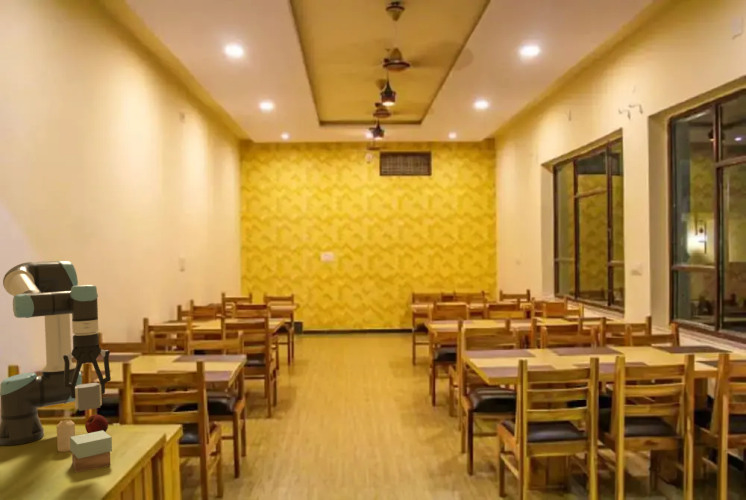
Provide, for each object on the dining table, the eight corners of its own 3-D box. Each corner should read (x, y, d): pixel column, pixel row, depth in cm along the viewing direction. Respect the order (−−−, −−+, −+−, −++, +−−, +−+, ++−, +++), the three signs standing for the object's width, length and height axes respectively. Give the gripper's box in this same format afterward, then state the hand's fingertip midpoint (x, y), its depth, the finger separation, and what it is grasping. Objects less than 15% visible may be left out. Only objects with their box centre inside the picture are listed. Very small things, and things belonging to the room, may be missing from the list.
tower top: (70, 450, 197) (70, 436, 197) (103, 443, 203) (103, 430, 203) (77, 458, 189) (77, 444, 189) (112, 451, 196) (111, 437, 196)
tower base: (72, 464, 198) (71, 450, 198) (106, 457, 203) (105, 444, 203) (75, 473, 189) (75, 459, 189) (110, 466, 194) (110, 452, 194)
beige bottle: (68, 452, 209) (67, 422, 209) (53, 451, 210) (52, 422, 210) (79, 447, 214) (77, 418, 214) (65, 446, 215) (64, 418, 215)
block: (77, 407, 197) (76, 385, 197) (97, 404, 200) (96, 382, 200) (79, 410, 192) (78, 388, 192) (100, 407, 195) (99, 385, 195)
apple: (82, 436, 227) (81, 414, 227) (104, 431, 232) (103, 410, 232) (89, 440, 221) (88, 418, 221) (111, 435, 226) (110, 414, 226)
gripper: (53, 338, 188) (56, 413, 188) (119, 331, 198) (122, 403, 198) (51, 335, 194) (54, 408, 194) (115, 329, 204) (118, 399, 204)
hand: (88, 406), depth 196 cm, fingers closed on block, 6 cm apart
